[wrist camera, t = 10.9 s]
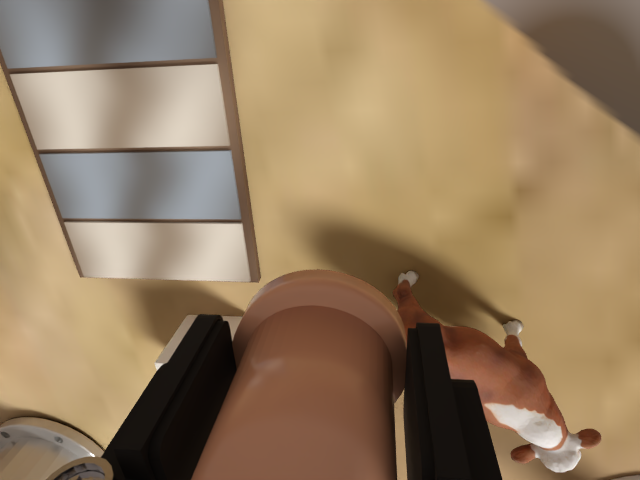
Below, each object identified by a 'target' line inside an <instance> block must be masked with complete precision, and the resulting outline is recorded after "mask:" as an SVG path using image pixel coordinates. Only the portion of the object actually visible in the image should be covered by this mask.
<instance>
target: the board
mask: <svg viewBox="0 0 640 480" xmlns="http://www.w3.org/2000/svg"><path fill="white" fill-rule="evenodd" d="M0 63H1V66H2V69H3V71H4V74H5V77H6V79H7V82H8V85H9V87H10V90H11V93H12V95H13V98H14V101H15V103H16V106H17V109H18V112H19V114H20V117H21V120H22V122H23V125H24V128H25V130H26V133H27V136H28V138H29V141H30V144H31V147H32V149H33V152H34V155H35V157H36V160H37V163H38V165H39V168H40V171H41V173H42V176H43V179H44V181H45V184H46V187H47V190H48V192H49V195H50V198H51V200H52V203H53V206H54V208H55V211H56V214H57V216H58V219H59V222H60V224H61V227H62V230H63V233H64V235H65V238H66V241H67V243H68V246H69V249H70V251H71V254H72V257H73V259H74V262H75V265H76V268H77V270H78V273H79V276H80V277H88V278H122V279H156V280H190V281H224V282H258V283H259V281H260V279H261V274H260V267H259V260H258V253H257V246H256V238H255V231H254V224H253V217H252V210H251V202H250V195H249V188H248V181H247V174H246V166H245V159H244V152H243V145H242V138H241V130H240V123H239V116H238V109H237V102H236V94H235V87H234V80H233V73H232V66H231V58H230V51H229V44H228V37H227V30H226V22H225V15H224V8H223V1H222V0H0Z"/></svg>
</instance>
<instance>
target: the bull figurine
mask: <svg viewBox="0 0 640 480" xmlns="http://www.w3.org/2000/svg"><path fill="white" fill-rule="evenodd" d="M418 278H419V276H418V274H417V273H416V272H415V271H408V272H407V273H406V275H405V274H404V273H401V274H400V276H399V278H398V280H399V283H398V286H397V287H396V289H394V291H393V296H394V297H395V298H396V300H397V303H398V310H397V311H398V313H399V315H400V317H401V319H402V322H403V324H404V328H405V332H406V340H407V333H408V328H416V323H417V322H419V323H439V324H440V327H441V332H442V337H443V342H444V347H445V352H446V357H447V362H448V367H449V372H450V376H451V379H464V380H474V381H475V383H476V385H477V388H478V392H479V395H480V399H481V403H482V406H483V410H484V414H485V417H486V421H488V422H489V423H491V424H493V425H496V426H498V427H502V428H505V429H510V430H513V431H515V432H516V433H517V434H519V435H520V436H521V437H522V438H524V439H525V440H527V441H529V442H531V444H528V445H523V446H519V447H517V448H515V449H513V450H512V451H511V458H512V460H514V461H515V462H518V463H528V462H530V461H531V460H533V459H535V458H540V460H541V462H542V463H543V464H544V465H545V466H546V467H547V468H549V469H550V470H552V471H554V472H565V471H568V470H572V469H573V468H574V467H575V466H576V465H577V463H578V461H579V460H580V458H581V452H580V450H579V449H580V448H586V449H589V448H593V447H595V446H597V445H598V444H599V443H600V441H601V434H600V433H599V432H598V431H596V430H594V429H584V430H581V431H580V432H578V433H576V434H571V433H570V432H569V431H568V429H567V427H566V425H565V421H564V418H563V416H562V414H561V412H560V410H559V408H558V406H557V405H556V403H555V401H554V399H553V397H552V395H551V394H550V393H549V391H548V389H547V386H546V382H545V378H544V376H543V374H542V372H541V371H540V369H539V368H538V367H537V366H536V365H535V364H534V363H532V362H531V361H530V360H528V358H527V356H526V353H525V352H524V350H523V349H522V342H521V340H520V338H519V337H518V335H519V332H520V331H521V330H522V329H523V324H522V322H520V321H518V320H513V321H512V322H511V321H509V322H508V323H507V324H503V328H504V330H505V332H506V334H507V337H506V338H505V347H504V348H503V347H501V346H500V345H499V344H498V343H497V342H495V341H494V340H493V339H492V338H490V337H489V336H487V335H486V334H484V333H482V332H481V331H479V330H476V329H473V328H469V327H462V326H444V325H442V324H441V323H440V322H439V321H438V320H436V319H434V318H433V317H431V316H429V315H428V314H427V313H426V312H425V311H423V310H422V308H421V307H420V306H419V304H418V302H417V300H416V299H415V298H414V296H413V295H412V291H411V286H412V285H413V284H415V283H416V282H417V280H418Z"/></svg>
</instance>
